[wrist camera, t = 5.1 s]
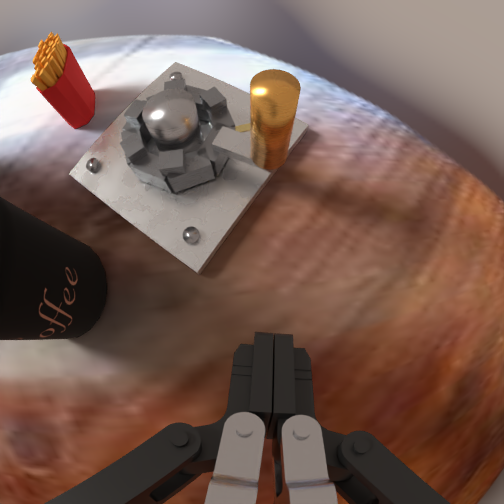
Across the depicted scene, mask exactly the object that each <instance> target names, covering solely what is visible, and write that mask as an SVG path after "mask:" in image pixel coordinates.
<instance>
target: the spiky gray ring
mask: <svg viewBox="0 0 504 504" xmlns="http://www.w3.org/2000/svg"><path fill="white" fill-rule="evenodd" d="M300 88H301V87H300V83H299V81H298V80H297V79H296V78H295V77H294V76H293V75H292V74H290V73H288V72H285V71H282V70H276V69H271V70H265V71H262V72H260V73H258V74H256V75H255V76H254V77H253V78H252V80H251V83H250V136H249V135H247V134H244V133H241V132H238V131H236V130H235V123H234V121H233V119H232V117H231V114H230V112H229V110H228V108H227V100H226V98H225V97H224V96H223V95H222V94H221V93H220V92H219V91H218V89H217V88H216V87H213V88H211V89H209V90H204V89H200V88H197V87H193V86H189V85H186V82H185V79H179V80H173V81H167V82H164V90H167V89H183V90H185V91H187V92H189V93H190V94H191V95H192V96H193V98H194V100H195V104H196V108H197V113H198V117H199V119H201V120H204V121H208V122H209V124H210V127H211V129H212V130H211V131H210V133H209V134H208V136H207V137H206V139H205V141H204V142H203V144H202V145H201V147H200V149H199V150H196V151H193V152H190V153H187V154H185V153H184V151H183V149H179V150H172V151H165V152H159V156H156V155H154V154H151V153H149V149H148V145H147V144H148V142H149V141H150V139H151V138H152V136H151V134H150V132H149V130H148V128H147V126H146V124H145V122H144V120H143V117H142V112H143V108H144V106H145V104H146V103H147V101H148V100H149V99H150V98H151V97H152V96H154V95H152V96H150V97H147V98H146V99H147V101H145V100H143V101H141V100H137V99H135V100H134V101H133V102H132V104H131V105H130V106H129V108H128V109H127V110H126V112H125V113H124V114H123V115H124V117H125V118H126V120H127V122H126V124H125V125H124V127H123V128H122V130H123V132H121V136H122V141H121V142H120V145H121V147H122V148H123V150H124V152H125V157H126V162H127V164H128V166H129V167H130V168H131V170H132V171H133V173H134V174H135V175H136V177H137V178H138V179H140V180H142V181H144V182H147V183H149V184H152V185H154V186H156V187H159V188H161V189H164V190H166V191H168V192H171V193H172V191H173V190H174V191H175V193H176V192H178V191H181V190H184V189H187V188H189V187H192V186H195V185H198V184H200V183H203V182H206V181H209V180H212V179H215V177H214V175H217V176H218V175H219V173H220V171H221V169H222V168H223V166H224V164H225V162H226V161H227V159H228V157H231V158H234V159H237V160H239V161H242V162H244V163H247V164H249V165H252V166H254V167H257V168H259V169H262V170H264V171H267V172H269V173H272V174H273V172H274V170H275V169H277V168H279V167H281V166H282V165H283V164H284V163H285V161H286V158H287V154H288V149H289V144H290V139H291V134H292V129H293V124H294V119H295V114H296V109H297V104H298V99H299V94H300Z"/></svg>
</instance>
